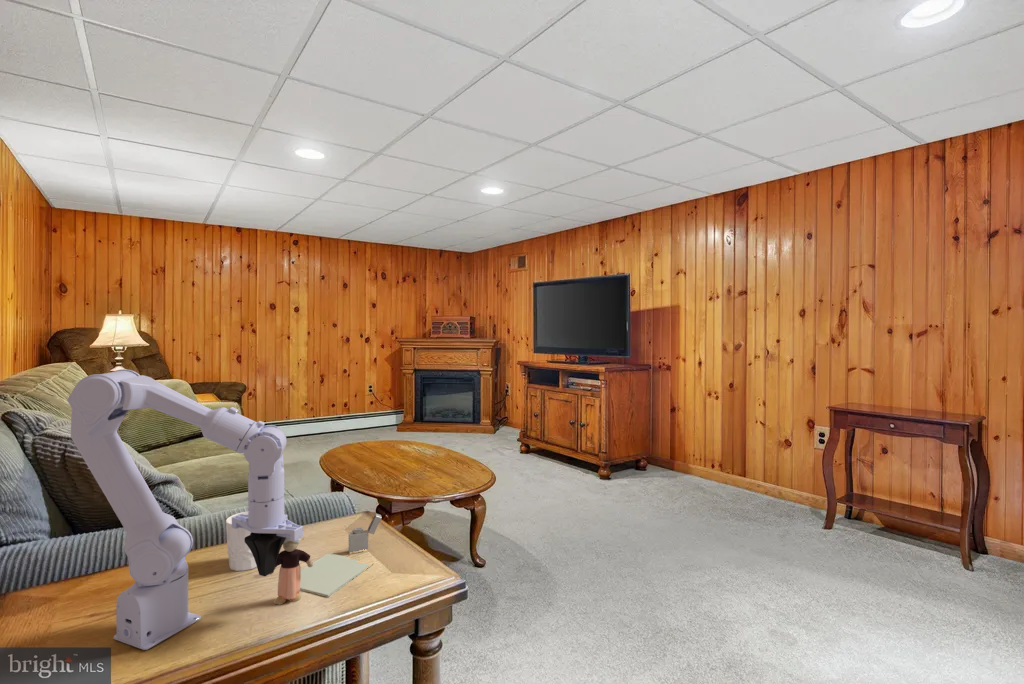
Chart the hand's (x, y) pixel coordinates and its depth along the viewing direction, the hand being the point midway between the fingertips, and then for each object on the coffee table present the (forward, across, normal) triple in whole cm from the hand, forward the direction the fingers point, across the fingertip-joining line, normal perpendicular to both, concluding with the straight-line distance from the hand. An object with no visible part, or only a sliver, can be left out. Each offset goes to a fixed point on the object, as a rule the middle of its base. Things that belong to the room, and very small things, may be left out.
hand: (266, 573), depth 89 cm
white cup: (+8, +19, -13) cm, 24 cm away
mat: (+7, 0, -16) cm, 17 cm away
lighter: (+8, 0, -28) cm, 29 cm away
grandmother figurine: (+8, 0, -6) cm, 9 cm away
